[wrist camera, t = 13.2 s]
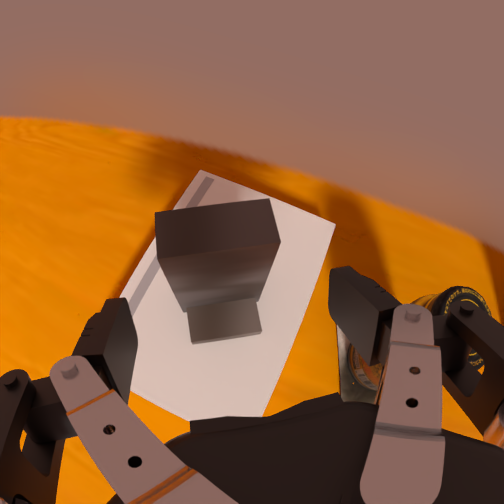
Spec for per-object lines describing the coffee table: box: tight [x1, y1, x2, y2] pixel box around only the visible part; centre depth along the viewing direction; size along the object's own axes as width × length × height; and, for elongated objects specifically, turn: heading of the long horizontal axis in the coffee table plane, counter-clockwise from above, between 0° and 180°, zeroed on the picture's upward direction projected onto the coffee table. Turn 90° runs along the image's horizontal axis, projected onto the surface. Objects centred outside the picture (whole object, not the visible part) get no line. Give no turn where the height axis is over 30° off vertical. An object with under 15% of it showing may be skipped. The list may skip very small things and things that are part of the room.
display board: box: [119, 170, 336, 422], centre depth 24 cm, size 19×13×3 cm
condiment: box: [337, 286, 492, 404], centre depth 18 cm, size 7×8×12 cm
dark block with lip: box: [155, 198, 281, 345], centre depth 18 cm, size 6×5×10 cm
